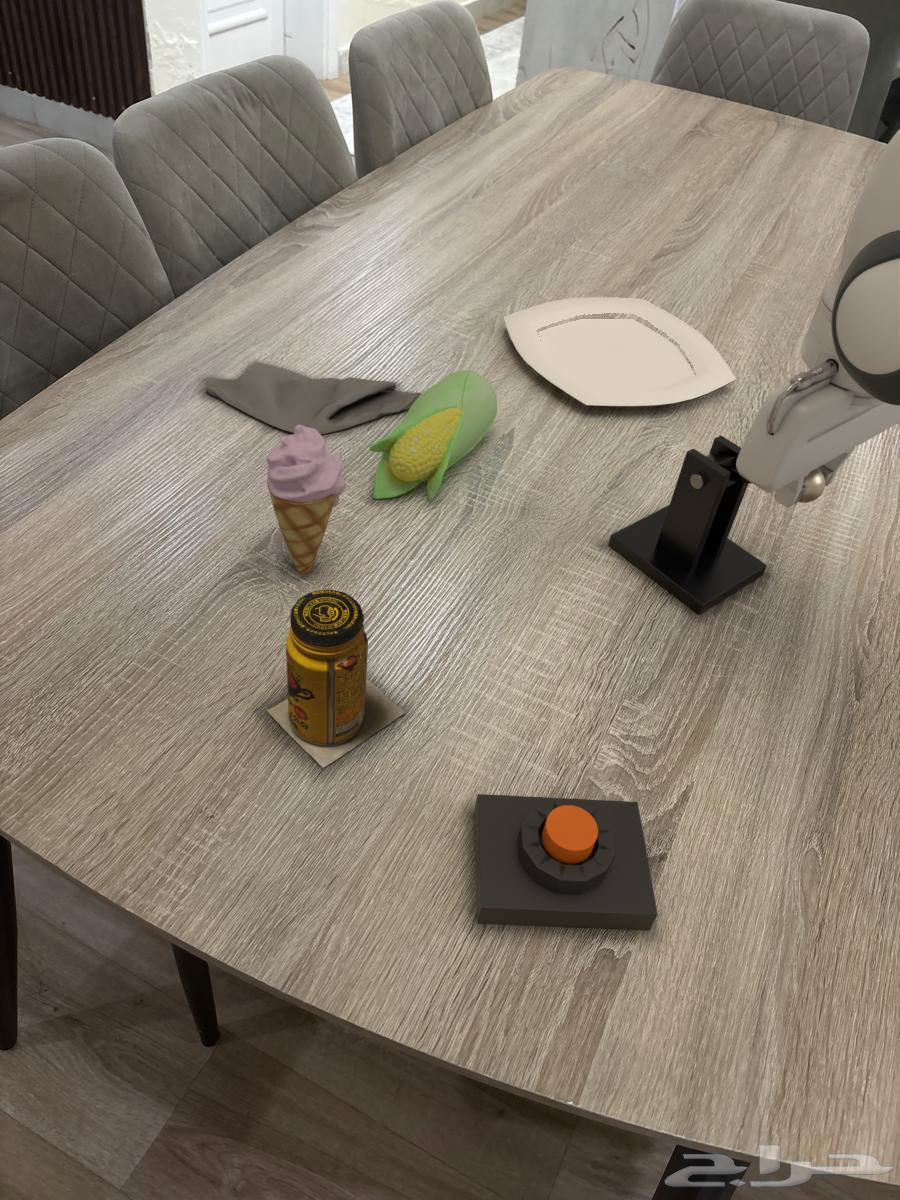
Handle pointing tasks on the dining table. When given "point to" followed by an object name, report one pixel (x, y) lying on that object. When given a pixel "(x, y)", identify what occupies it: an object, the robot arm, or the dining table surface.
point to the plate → (617, 353)
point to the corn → (435, 434)
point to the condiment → (330, 679)
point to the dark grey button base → (560, 867)
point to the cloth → (309, 398)
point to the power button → (569, 834)
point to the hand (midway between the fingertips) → (801, 492)
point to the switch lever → (812, 482)
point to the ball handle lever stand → (694, 535)
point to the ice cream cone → (304, 491)
